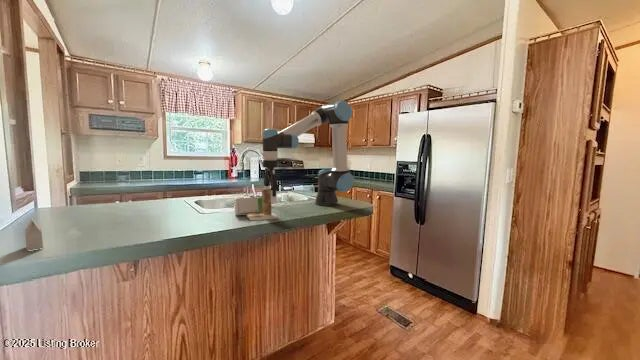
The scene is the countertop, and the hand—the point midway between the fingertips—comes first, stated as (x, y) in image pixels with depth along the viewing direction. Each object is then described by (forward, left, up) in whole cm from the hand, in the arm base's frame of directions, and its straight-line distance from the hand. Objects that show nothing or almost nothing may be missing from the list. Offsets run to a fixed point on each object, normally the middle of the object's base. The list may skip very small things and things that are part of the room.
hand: (270, 200), depth 143 cm
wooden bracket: (+6, 0, -8) cm, 10 cm away
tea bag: (+86, +17, -9) cm, 88 cm away
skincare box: (+1, -9, -4) cm, 10 cm away
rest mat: (+4, 0, -9) cm, 10 cm away
